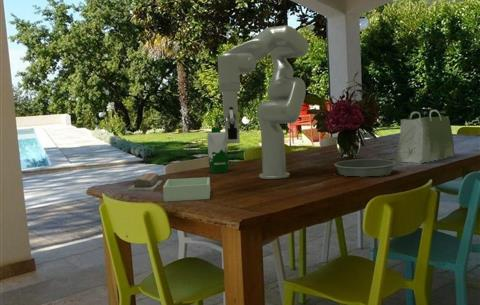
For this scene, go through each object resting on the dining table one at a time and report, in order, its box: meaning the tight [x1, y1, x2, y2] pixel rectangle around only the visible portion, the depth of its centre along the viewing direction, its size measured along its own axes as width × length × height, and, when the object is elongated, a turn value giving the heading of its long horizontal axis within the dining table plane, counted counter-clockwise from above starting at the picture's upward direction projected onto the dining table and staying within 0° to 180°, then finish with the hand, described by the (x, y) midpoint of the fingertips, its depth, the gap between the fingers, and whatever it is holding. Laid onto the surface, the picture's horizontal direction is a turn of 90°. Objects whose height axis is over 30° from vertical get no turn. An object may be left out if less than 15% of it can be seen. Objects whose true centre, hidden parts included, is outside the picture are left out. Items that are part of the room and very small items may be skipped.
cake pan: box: [333, 158, 397, 178], centre depth 218 cm, size 25×25×4 cm
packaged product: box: [127, 172, 163, 192], centre depth 213 cm, size 18×5×10 cm
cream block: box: [224, 119, 241, 144], centre depth 193 cm, size 5×5×8 cm
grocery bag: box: [394, 109, 455, 164], centre depth 246 cm, size 32×14×23 cm, turn 133°
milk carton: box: [206, 127, 229, 175], centre depth 240 cm, size 9×9×20 cm
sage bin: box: [162, 176, 211, 202], centre depth 189 cm, size 16×16×5 cm
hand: (232, 137), depth 193 cm, fingers closed on cream block, 5 cm apart
